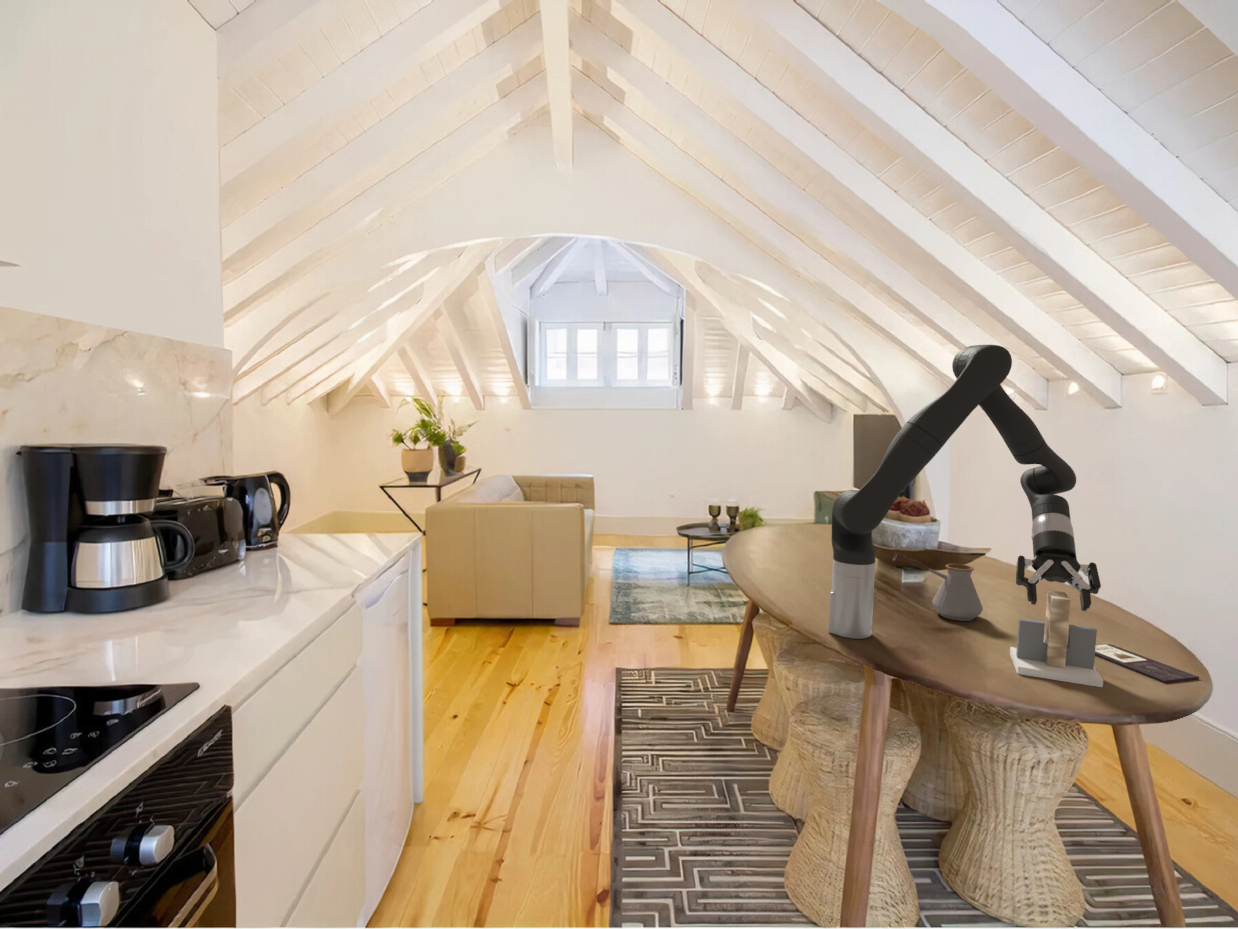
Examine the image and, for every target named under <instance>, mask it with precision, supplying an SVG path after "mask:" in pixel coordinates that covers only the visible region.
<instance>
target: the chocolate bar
mask: <svg viewBox="0 0 1238 929" xmlns="http://www.w3.org/2000/svg"><path fill="white" fill-rule="evenodd" d="M1095 657H1096V658H1098V659H1099V658H1100V659H1102V660H1105V661H1106V662H1109V663H1112V664H1114V665H1117V666H1119V667H1122V668H1125V669H1127V670H1129V671H1132V672H1134V673H1136V674H1139V675H1142V676H1144V677H1147V678H1149V679H1152V680H1154V681H1156V682H1159V683H1162V684H1170V683H1171V684H1172V683H1178V682H1189V681H1196V680H1197V681H1198V680H1200V676H1198V675H1195V674H1192V673H1190V672H1186V671H1184V670H1182V669H1178V668H1176V667H1173V666H1171V665H1168V664H1166V663H1162V662H1160V661H1157V660H1154V659H1152V658H1149V657H1146V656H1143V655H1141V654H1138V653H1136V652H1133V651H1130V650H1128V649H1124V648H1122V647H1119V646H1117V645H1114V644H1111V643H1109V644H1098V645H1096V646H1095Z"/></svg>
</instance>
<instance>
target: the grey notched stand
mask: <svg viewBox="0 0 1238 929" xmlns="http://www.w3.org/2000/svg"><path fill="white" fill-rule="evenodd" d="M1044 630H1045V620H1043V621H1042V620H1035V619H1031V618H1023V617H1020V618H1018V627H1017V638H1016V639H1017V642H1016V647H1014V646H1009V647H1010V648H1009V656H1010V658H1011V660H1013V661H1012V664H1013V666H1014V668H1015V671H1016V674H1017V675H1023V676H1029V677H1035V678H1042V679H1047V680H1054V681H1060V682H1066V683H1073V684H1079V685H1084V686H1085V685H1086V686H1090V687H1091V686H1092V687H1098V688H1103V687H1104V679H1103V677H1102V676H1101V674H1100V673H1099V672H1098V669H1096V667H1095V657H1096V656H1095V646H1096V642H1097V635H1098V633H1097V631H1098V629H1096V627H1093V626H1092V627H1090V626H1083V625H1076V624H1075V625H1074V624H1069V625H1068V637H1067V650H1066V662H1065V669H1063V668H1057V667H1050V666H1047V665H1046V655H1047V642H1044Z"/></svg>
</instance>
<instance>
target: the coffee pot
mask: <svg viewBox="0 0 1238 929" xmlns="http://www.w3.org/2000/svg"><path fill="white" fill-rule="evenodd" d="M897 558H900V559H902V560H903V561H906V562H907V563H909V564H911V565H912V566H915V567H918V568H920V569H922V570H924V571H927V572H930V573H932V574H934V575H936V576H938V577H940V578H942V579H944V580H943V581H942V583H941V585H940V587H939V588H938V589H937V592H936V593H935V595H934V597H933V599H932V602H931V603H932V606H933V608H934V609H935V611H936V612H938V613H939V615H940V616H941V617H943V618H946V619H949V620H953V621H958V622H960V621H963V622H970V621H973V620H974V618H977V617H978V616H980V615H981V613H982V612H983V611H984V610H983V605H982V602H981V599H980V597H979V594H978V592H977V589H976V587H975V585H974V582H973V579H972V577H971V574H972V572H973V571H974V570H975V568H974V567H973V566H970V565H967V564H960V563H948V564H945V568H946V569H947V574H944V573H941V572H939V571H937V570H935V569H932V568H930V567H928V566H927V565H924V564H923V563H920V562H919V561H918V560H915V559H912V558H908V557H907V556H906V555H902V554H900V553H897V552H896V553H895V555H894V556H893V558H892V561H895V560H896V559H897Z"/></svg>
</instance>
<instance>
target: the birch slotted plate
mask: <svg viewBox="0 0 1238 929" xmlns="http://www.w3.org/2000/svg"><path fill="white" fill-rule="evenodd" d="M1046 592H1047V593H1046V603H1045V604H1046V605H1045V606H1046V607H1045V618H1044V623H1045V627H1044V640H1043V642H1047V655H1046V665H1047V666H1050V667H1057V668H1063V669H1065V662H1066V650H1067V644H1068V631H1069V625H1070V624H1069V623H1070V611H1071V610H1070V609H1071V599H1070V597H1069V596H1068V594H1067V593H1066V591H1059V590H1048V589H1047V591H1046Z"/></svg>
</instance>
